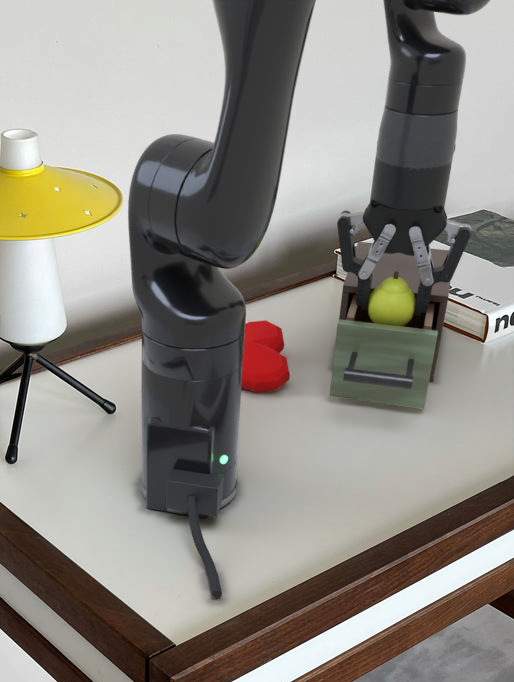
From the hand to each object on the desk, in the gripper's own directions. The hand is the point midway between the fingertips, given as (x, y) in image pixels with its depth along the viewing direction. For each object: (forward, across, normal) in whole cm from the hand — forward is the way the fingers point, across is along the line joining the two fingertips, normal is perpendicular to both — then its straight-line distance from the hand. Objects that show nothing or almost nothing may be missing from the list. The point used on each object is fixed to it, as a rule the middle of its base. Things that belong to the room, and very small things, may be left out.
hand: (391, 311), depth 111 cm
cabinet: (+10, 0, +11) cm, 15 cm away
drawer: (+9, 0, -1) cm, 9 cm away
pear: (+2, 0, 0) cm, 2 cm away
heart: (+10, -16, 0) cm, 19 cm away
